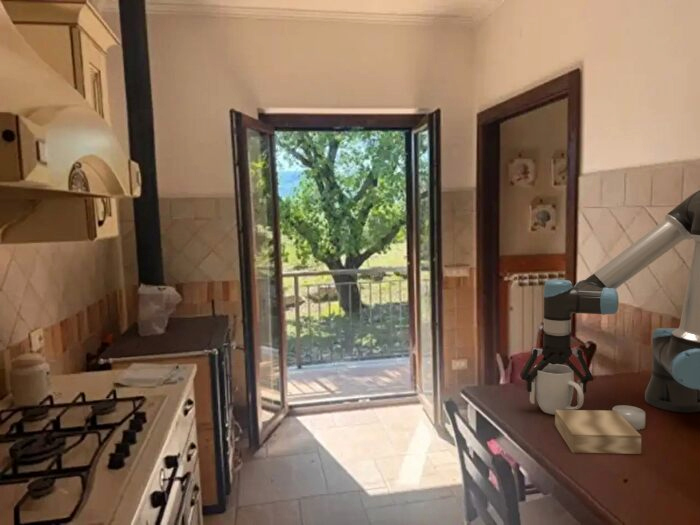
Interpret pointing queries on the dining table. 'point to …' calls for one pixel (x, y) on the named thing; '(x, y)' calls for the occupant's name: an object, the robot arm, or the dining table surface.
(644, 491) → the dining table surface
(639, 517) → the dining table surface
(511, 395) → the dining table surface
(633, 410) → the stoneware dish
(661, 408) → the robot arm
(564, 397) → the mug
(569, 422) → the beech box
